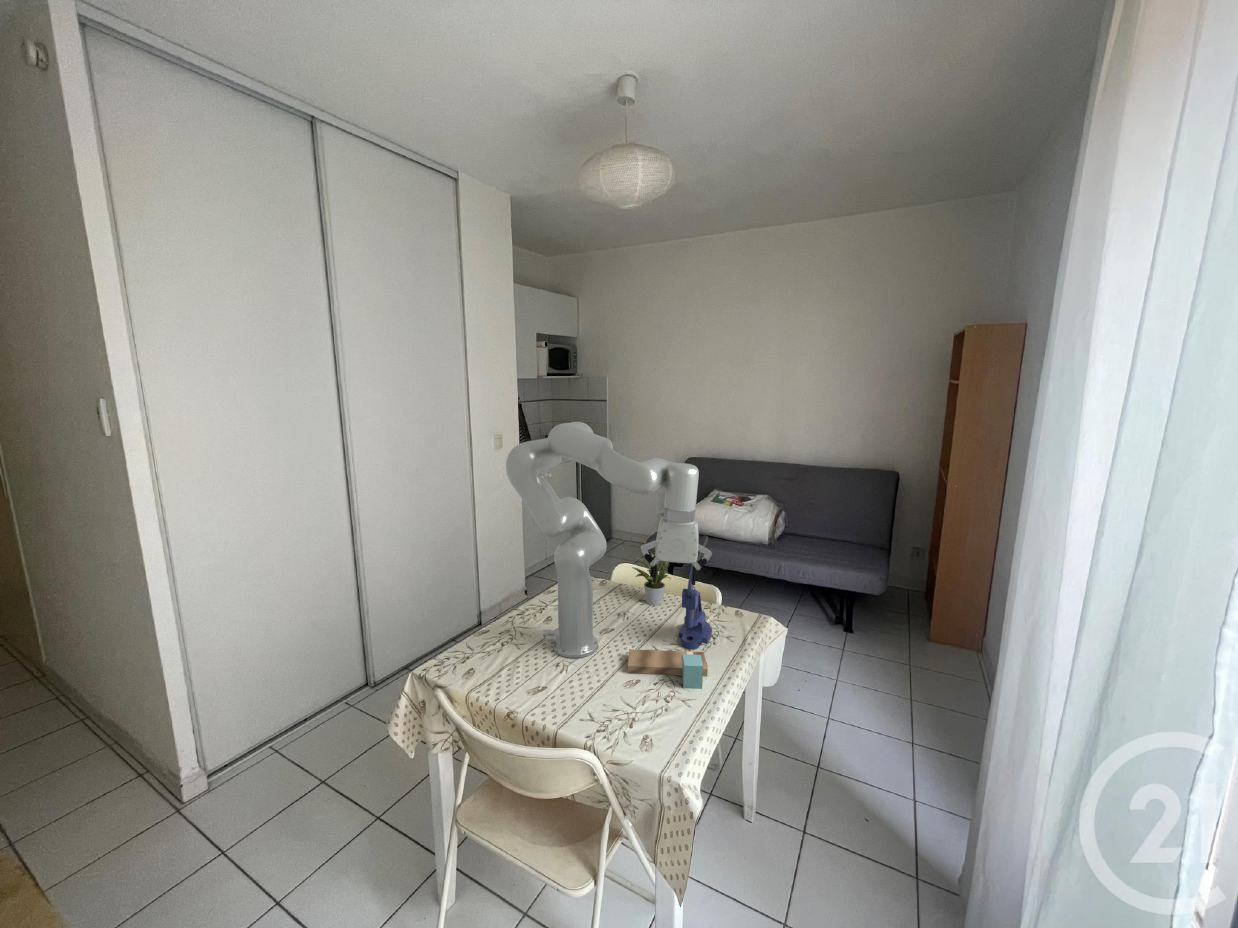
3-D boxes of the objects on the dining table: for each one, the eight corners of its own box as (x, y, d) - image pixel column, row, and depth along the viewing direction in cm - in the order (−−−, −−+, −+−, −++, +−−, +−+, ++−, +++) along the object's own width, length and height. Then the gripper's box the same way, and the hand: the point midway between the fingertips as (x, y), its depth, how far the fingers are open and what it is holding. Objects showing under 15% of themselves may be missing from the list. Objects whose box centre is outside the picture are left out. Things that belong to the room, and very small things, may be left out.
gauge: (683, 688, 120) (684, 665, 119) (680, 663, 130) (681, 642, 130) (702, 688, 120) (703, 666, 119) (697, 664, 130) (698, 643, 129)
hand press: (702, 655, 135) (706, 556, 130) (671, 648, 138) (674, 552, 133) (716, 624, 152) (720, 536, 147) (689, 619, 155) (692, 533, 150)
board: (627, 673, 126) (628, 665, 126) (628, 656, 134) (629, 649, 133) (707, 676, 125) (707, 668, 125) (703, 658, 133) (703, 651, 133)
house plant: (656, 588, 178) (657, 544, 175) (685, 601, 167) (686, 555, 164) (626, 599, 169) (626, 553, 166) (654, 614, 158) (655, 565, 156)
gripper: (643, 516, 116) (638, 584, 119) (717, 522, 115) (710, 590, 119) (643, 507, 124) (639, 572, 127) (713, 513, 123) (707, 577, 126)
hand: (673, 581), depth 123 cm, fingers open, 9 cm apart
